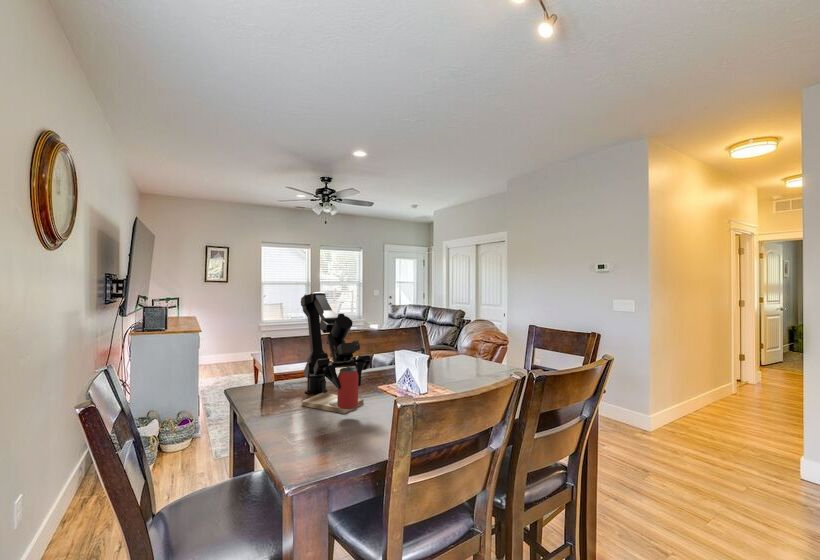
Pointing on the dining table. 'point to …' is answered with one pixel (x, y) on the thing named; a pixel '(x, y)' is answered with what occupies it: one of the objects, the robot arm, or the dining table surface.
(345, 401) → the beer can
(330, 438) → the dining table surface
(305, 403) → the birch board
